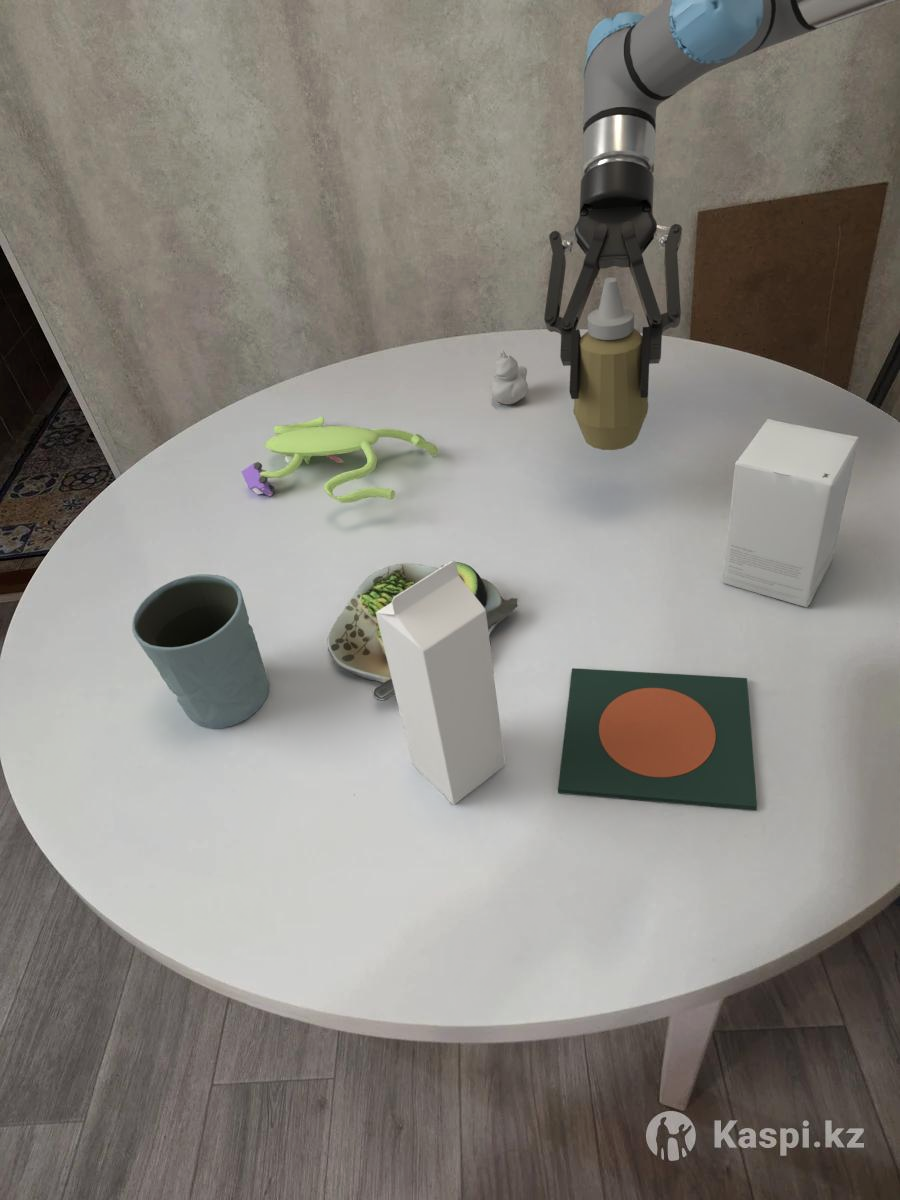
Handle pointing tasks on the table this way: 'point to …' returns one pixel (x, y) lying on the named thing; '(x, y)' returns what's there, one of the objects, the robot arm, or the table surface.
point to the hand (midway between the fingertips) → (608, 394)
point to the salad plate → (357, 626)
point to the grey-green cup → (204, 648)
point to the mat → (659, 738)
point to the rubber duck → (508, 380)
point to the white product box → (787, 510)
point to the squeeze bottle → (610, 375)
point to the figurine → (327, 454)
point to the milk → (444, 681)
